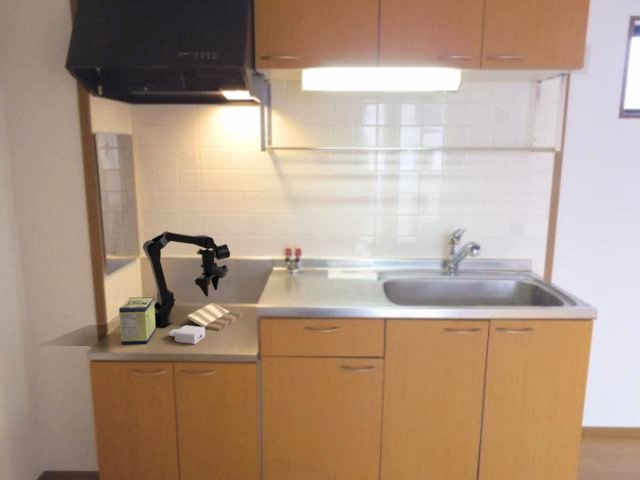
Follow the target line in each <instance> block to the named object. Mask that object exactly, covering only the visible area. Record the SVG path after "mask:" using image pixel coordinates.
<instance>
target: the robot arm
mask: <svg viewBox="0 0 640 480" xmlns="http://www.w3.org/2000/svg"><path fill="white" fill-rule="evenodd" d="M170 242H174V243H181V244H188V245H195V246H198V247H200V248H199V249H198V250H197V251H196V254H197V255H201V263H202V264H200V268H202V273H201V275H200V276H198V277H197V278H196V279H195V280H194V284H195V285H196V286H198V287H199V289H200V290H201V292H202V293H203V294H204V296H205V297H209V286H210V285H211V284H212V287H213V290H214V291H217V290H218V286H219V281H220V279H223V278H225V277H227V273H228V272H229V271H228V270H229V269H228V266H227V265H226V264H223V265H221V266H218V263H217V262H215V259H216V260H217V261H220V260H224V259H225V260H226V259H229V258H230V257H231V251H230V249H229V248H228V244H222V245H217V244H216V243H215V240H214V238H213V237H211V236H208V235H205V234H201V235H199V234H198V235H190V234H182V233H176V232H170V231H167V230H166V231H163V232H162V233H161V234H159V235H157V236H155V237H153V238H151V240H150V239H149V240H148V239H147V240H146V241H145V242H143V244H142V249H143V253H145V256H146V257H147V259H148V261H149V263H150V266H151V267H150V268H151V269H152V270H151V271H152V275H153V278H154V282H155V285H156V289H157V290H156V291H157V292H156V302H154V309H155V328H160V329H165V328H167V327H169V326H171V325H173V322H171V318H170V317H171V316H170V315H171V311H172V309H173V308H174V306H175V302H176V299H175V294H174V292H173V291H171V290H170V289H168V286H167V281H166V279H165V278H166V277H165V275H164V274H165V273H164V271H163V265H162V262H161V258H162V257H161V256H162V251H161V250H162V249H164V248H166V246H167V245H168V244H169V243H170ZM202 248H203V249H202Z"/></svg>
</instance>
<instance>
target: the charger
mask: <svg viewBox="0 0 640 480" xmlns="http://www.w3.org/2000/svg"><path fill="white" fill-rule="evenodd" d="M166 334H168V336H169V337H174V341H175V342H176V343H182V344H189V345H191V344H192V345H196V344H198V342H200V341H201V340H202V339H203V338H204V337H206V328H205V327H202V326H195V325H183V326H181V327H180V328H178V329H175V328H174V329H172V330H168V332H167V331H166Z"/></svg>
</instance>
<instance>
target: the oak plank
mask: <svg viewBox="0 0 640 480" xmlns="http://www.w3.org/2000/svg"><path fill="white" fill-rule="evenodd" d="M229 312H230V310H227V309H225V308H223V307H221V306H220V305H218V304H216V303H214V302H211V303H209V304H207V305H205V306H203V307H201V308H199V309H198V310H195V311H193V312H192V313H190V314H188V315H187V317H186V318H187V319H188V320H189V321H191V322H193V323H195V324H197V325H199V327H205V329H206V326H207V325H208V324H210V323H212V322H214V321H215V320H217V319H219V318H220V317H222V316H224V315H226V314H227V313H229Z"/></svg>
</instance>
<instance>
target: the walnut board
mask: <svg viewBox="0 0 640 480" xmlns="http://www.w3.org/2000/svg"><path fill="white" fill-rule="evenodd" d="M242 317H243V313H239V312H232V311H229V313H227V314H226V315H224V316H222V317H220V318H219V319H217V320H215V321H214V322H212V323H210V324H208V325H207V326H206V328H205V330H206V329H207V330H213V331H219V332H220V331H222V330H223V329H225V328H226V327H227V326H230V325H231V324H233V323H234V322H235V321H237V320H239V319H240V318H242Z"/></svg>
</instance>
